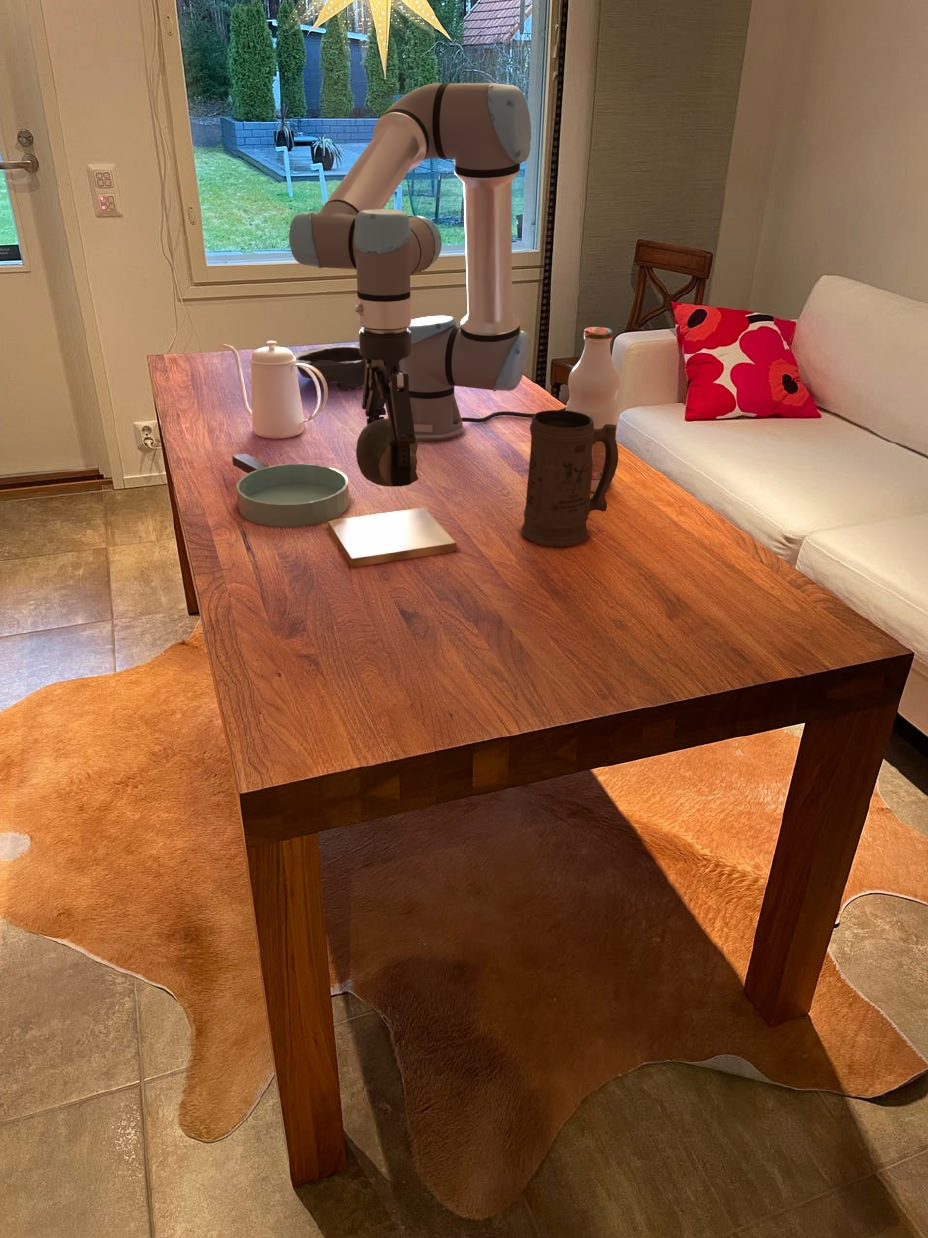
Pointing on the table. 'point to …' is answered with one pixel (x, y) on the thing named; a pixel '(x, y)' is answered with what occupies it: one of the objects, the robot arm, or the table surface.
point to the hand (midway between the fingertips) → (388, 470)
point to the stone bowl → (335, 365)
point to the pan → (292, 495)
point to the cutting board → (390, 536)
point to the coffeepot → (276, 391)
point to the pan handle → (247, 463)
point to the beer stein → (565, 476)
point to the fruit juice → (595, 390)
